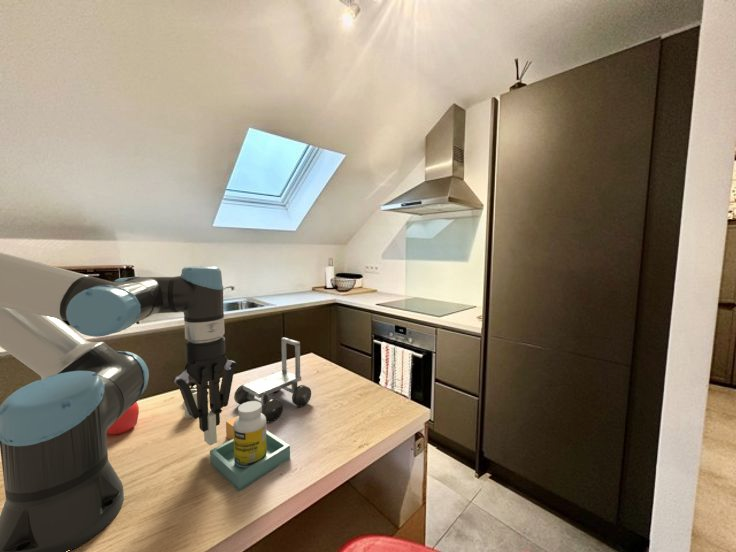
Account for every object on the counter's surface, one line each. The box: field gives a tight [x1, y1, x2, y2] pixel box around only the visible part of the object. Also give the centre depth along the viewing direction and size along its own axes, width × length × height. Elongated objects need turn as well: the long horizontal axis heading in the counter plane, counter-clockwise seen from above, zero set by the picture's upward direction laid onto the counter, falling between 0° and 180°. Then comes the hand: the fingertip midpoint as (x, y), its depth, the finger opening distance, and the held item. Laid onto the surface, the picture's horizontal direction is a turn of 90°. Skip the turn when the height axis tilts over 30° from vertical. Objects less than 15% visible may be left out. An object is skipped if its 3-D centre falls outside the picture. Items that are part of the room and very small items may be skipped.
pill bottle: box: [233, 401, 267, 468], centre depth 64 cm, size 6×6×12 cm
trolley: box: [233, 336, 312, 423], centre depth 87 cm, size 16×15×18 cm
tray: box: [209, 429, 291, 492], centre depth 65 cm, size 12×12×3 cm
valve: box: [182, 380, 209, 419], centre depth 86 cm, size 7×7×12 cm
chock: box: [225, 415, 239, 441], centre depth 73 cm, size 4×5×4 cm
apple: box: [106, 401, 140, 436], centre depth 75 cm, size 8×8×8 cm
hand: (210, 441), depth 67 cm, fingers closed
